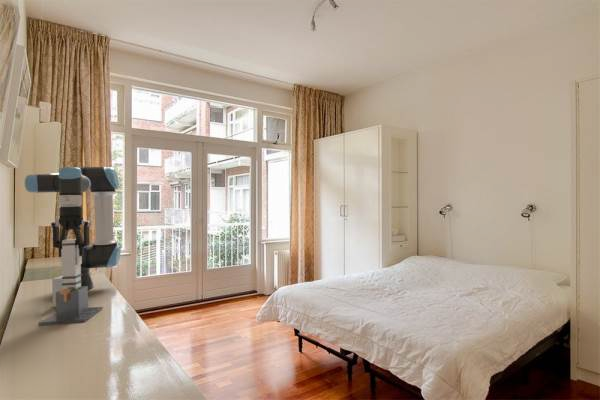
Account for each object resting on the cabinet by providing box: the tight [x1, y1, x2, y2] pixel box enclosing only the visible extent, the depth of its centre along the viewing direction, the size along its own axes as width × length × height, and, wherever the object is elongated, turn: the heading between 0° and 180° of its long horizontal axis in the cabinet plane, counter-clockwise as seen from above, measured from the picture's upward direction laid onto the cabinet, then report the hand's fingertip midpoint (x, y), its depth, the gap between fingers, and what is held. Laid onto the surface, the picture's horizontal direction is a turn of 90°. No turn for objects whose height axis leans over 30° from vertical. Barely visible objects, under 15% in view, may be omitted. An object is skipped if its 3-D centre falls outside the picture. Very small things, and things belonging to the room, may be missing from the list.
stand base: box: [38, 286, 103, 326], centre depth 136 cm, size 16×16×12 cm
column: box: [61, 238, 82, 290], centre depth 136 cm, size 5×5×22 cm
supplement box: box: [51, 275, 63, 308], centre depth 153 cm, size 7×7×13 cm
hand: (71, 264), depth 136 cm, fingers open, 5 cm apart
